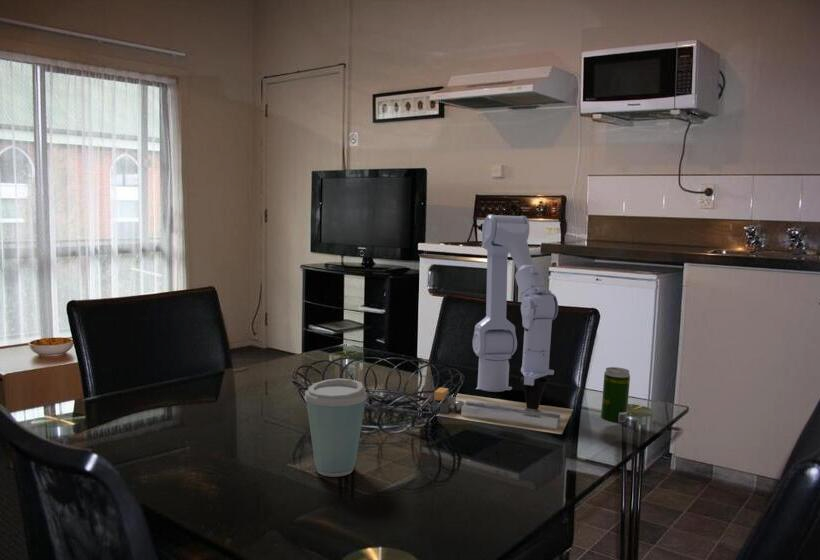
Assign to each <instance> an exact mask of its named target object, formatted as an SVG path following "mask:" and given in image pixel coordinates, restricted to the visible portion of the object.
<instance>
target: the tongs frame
mask: <svg viewBox="0 0 820 560" xmlns="http://www.w3.org/2000/svg"><path fill="white" fill-rule="evenodd" d="M450 396H451V395H448V397H447V398H446V399H445V400H444V401H443V402H442V403H441V404H440V411H439V413H440V414H447V415H449V414H450V413H451V412H452V411H453V410H454V402H455V401H456V397H450ZM438 403H440V400H434V399H433V401H432V407H433V406H435V405H437V404H438ZM461 416H465V417H472V418H479V419H486V420H492V421H499V422H506V423H513V424H520V425H526V426H533V427H540V428H547V429H553V430H557V429H558V419H559V418H552V417H545V416H538V415H531V414H524V413H517V412H510V411H503V410H496V409H489V408H482V407H475V406H468V405H463V406H462V408H461Z"/></svg>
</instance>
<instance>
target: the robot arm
mask: <svg viewBox="0 0 820 560" xmlns="http://www.w3.org/2000/svg"><path fill="white" fill-rule="evenodd" d="M481 228H482V230H481V231H482V233H481V236H482V237H481V242H482V243H481V246H482V248H483V249H484V250H486V252H487V253H486V255H487V257H486V258H487V259H486V299H485V300H486V305H485V306H486V307H485V308H486V309H485V314H486V315H485V317H484V318H483V319H481V320H480V321H479V322H477V323H476V324H475V325H474V332H473V337H472V349H473V352H474V353H475V355H476V357H478V369H477V371H478V373H477V385H476V386H477V387H476V388H475V390H481V391H485V392H491V393H492V392H493V393H499V392H504V391H511V390H512V389H513V387H512V386H509V377H510V376H509V375H510V362H509V360H510V359H512V356H513V355H514V354H515V352H516V351H517V347H518V340H517V335H516V326H515V325H514V324H513V323H512V322H510V320H508V319H507V308H508V307H507V303H508V302H507V299H508V298H507V297H508V296H507V295H508V257H509V256H508V255H509V254H510V256H511V259H512V261H513V263H514V265H515V267H516V273H515V274H514V275H515V276H514V278H515V281H516V284H517V287H518V291H519V293H520V294H519V295H520V297H521V299H522V300H521V304H520V313H521V319H522V320H521V321H522V322H521V323H522V327H523V328H524V330H523V331H524V332H523V333H524V334H523V345H522V346H523V347H522V348H523V349H522V363H521V368H520V373H521V375H523V376H521V377H520V379H519V382H520V385H521V387H522V390H523V392H524V397H525V403H526V406H527V408H528V409H535V410H538V408H539V405H541V401H542V396H543V393H544V389H545V387H546V385H547V384H548V382H549V379H550V378H549V377H548V376H553V375H554V374H555V370H554V369H550V355H551V342H552V341H551V340H552V338H551V337H552V327H553V326H552V324H553V321H554V320H555V319H556V318H557V316H558V314H559V313H558V312H559V302H558V299H557V296H556V295H555V293H553V292H552V291H551V290H548V289H547V286H546V283H545V280H544V278H543V274H542V272H541V270H540V268H539V267H538V266H535V265H534V264H533V260H532V259H533V258H532V256H531V252H530V248H529V245H528V244H529V243H528V239H529V235H530V223H529V220H528V218H527V217H526V215H520V216H519V215H499V214H497V215H496V214H491V213H490V214H488V215H487V216H486V217H485V218H484V220H483V223H482V227H481Z"/></svg>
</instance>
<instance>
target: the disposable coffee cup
mask: <svg viewBox="0 0 820 560" xmlns="http://www.w3.org/2000/svg"><path fill="white" fill-rule="evenodd" d="M367 395H368V394H367V392H366V390H365V387H364V384H363V382H362V381H358V380H355V379H349V378H333V379H332V378H331V379H324V380H322V381H321V380H320V381H318V382H314V383H313V384H311V385H310V386H308V387H307V390H305V392H304V400H305V402H306V408H307V414H308V421H309V429H310V431H309V432H310V436H311V437H310V438H311V446H312V451H313V460H314V465H315V466H314V467H315V469H316V472H317V474H318V475H319V474H320V475H322V476H325V477H331V478H333V477H334V478H335V477H343V476H347V475H350V474H351V473H352V472H353V471H354V469H355V466H356V462H357V457H358V450H359V444H360V437H361V431H362V426H363V419H364V412H365V406H366V400H367V399H368V396H367Z"/></svg>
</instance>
